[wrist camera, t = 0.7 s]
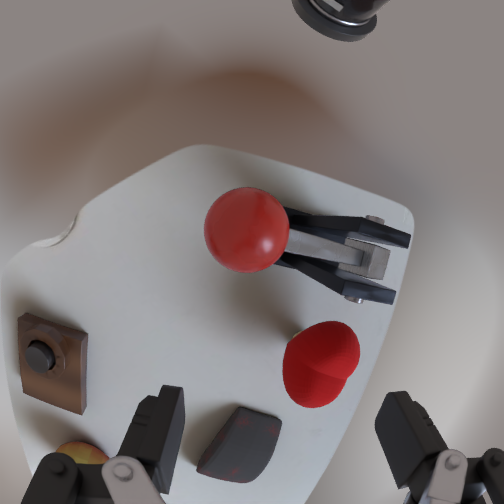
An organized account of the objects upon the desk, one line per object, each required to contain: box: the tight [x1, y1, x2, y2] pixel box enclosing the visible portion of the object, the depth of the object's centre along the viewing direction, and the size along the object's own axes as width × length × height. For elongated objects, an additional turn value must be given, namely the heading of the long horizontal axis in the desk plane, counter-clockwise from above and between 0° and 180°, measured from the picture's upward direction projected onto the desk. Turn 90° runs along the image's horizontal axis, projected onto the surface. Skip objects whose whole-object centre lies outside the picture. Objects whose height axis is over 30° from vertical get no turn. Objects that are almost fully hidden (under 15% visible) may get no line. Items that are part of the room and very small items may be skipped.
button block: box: [18, 313, 88, 415], centre depth 27 cm, size 12×9×4 cm
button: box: [25, 341, 54, 373], centre depth 25 cm, size 3×3×2 cm
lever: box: [204, 187, 390, 280], centre depth 16 cm, size 14×4×4 cm, turn 76°
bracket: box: [273, 206, 411, 305], centre depth 26 cm, size 9×6×15 cm, turn 76°
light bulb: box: [283, 321, 360, 408], centre depth 29 cm, size 9×7×10 cm
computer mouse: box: [196, 407, 282, 483], centre depth 33 cm, size 8×14×4 cm, turn 150°
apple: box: [56, 442, 110, 464], centre depth 28 cm, size 10×10×8 cm
